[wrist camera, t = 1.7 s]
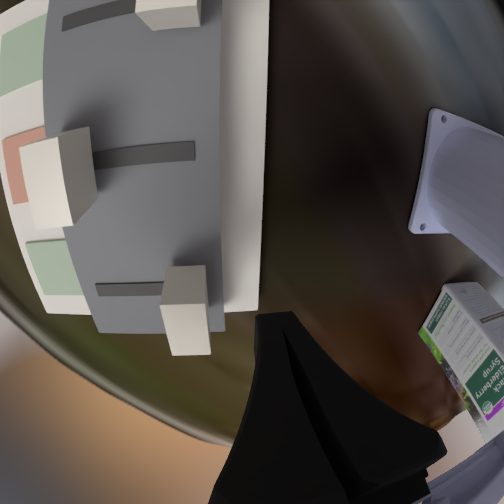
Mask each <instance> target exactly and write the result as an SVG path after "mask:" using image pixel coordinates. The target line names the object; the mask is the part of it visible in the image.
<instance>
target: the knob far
mask: <svg viewBox="0 0 504 504" xmlns="http://www.w3.org/2000/svg"><path fill="white" fill-rule="evenodd" d="M160 309H161V313H162V318H163V322H164V326H165V330H166V334H167V337H168V341H169V345H170V349H171V352H172V355H208V354H211V344H210V314H209V304H208V293H207V281H206V268H205V265H196V266H173V267H167V270H166V274H165V279H164V284H163V289H162V295H161V300H160Z"/></svg>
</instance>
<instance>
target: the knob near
mask: <svg viewBox="0 0 504 504" xmlns="http://www.w3.org/2000/svg"><path fill="white" fill-rule="evenodd" d="M135 13H136V14H137V15H138V16H139V17H140V18H141V19H142V20H143V21H144V22H145V24H146V25H147V26H148V27H149V28H150V29H151V30H152V31H156V30H164V29H173V28H185V27H200V19H201V0H136V7H135Z"/></svg>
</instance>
